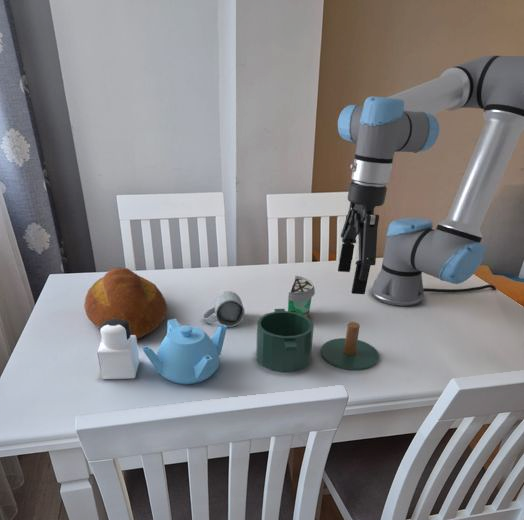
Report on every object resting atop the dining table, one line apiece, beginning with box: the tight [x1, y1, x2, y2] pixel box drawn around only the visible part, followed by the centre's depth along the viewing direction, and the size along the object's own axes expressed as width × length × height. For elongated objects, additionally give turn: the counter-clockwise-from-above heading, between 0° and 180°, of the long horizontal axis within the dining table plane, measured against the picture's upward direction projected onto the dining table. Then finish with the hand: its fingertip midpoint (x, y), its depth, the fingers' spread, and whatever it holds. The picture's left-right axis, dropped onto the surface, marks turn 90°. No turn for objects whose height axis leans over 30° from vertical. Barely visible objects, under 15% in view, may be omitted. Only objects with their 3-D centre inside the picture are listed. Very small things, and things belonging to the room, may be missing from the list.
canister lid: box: [320, 321, 380, 371], centre depth 112 cm, size 14×14×9 cm
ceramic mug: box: [202, 290, 246, 328], centre depth 126 cm, size 11×8×8 cm
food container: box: [287, 275, 316, 318], centre depth 127 cm, size 12×6×10 cm, turn 168°
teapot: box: [141, 318, 228, 385], centre depth 104 cm, size 15×15×11 cm
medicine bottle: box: [97, 319, 140, 380], centre depth 103 cm, size 7×7×12 cm
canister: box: [255, 308, 315, 373], centre depth 110 cm, size 13×18×10 cm
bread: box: [83, 266, 168, 340], centre depth 126 cm, size 21×33×12 cm, turn 20°
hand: (350, 281), depth 106 cm, fingers open, 13 cm apart
